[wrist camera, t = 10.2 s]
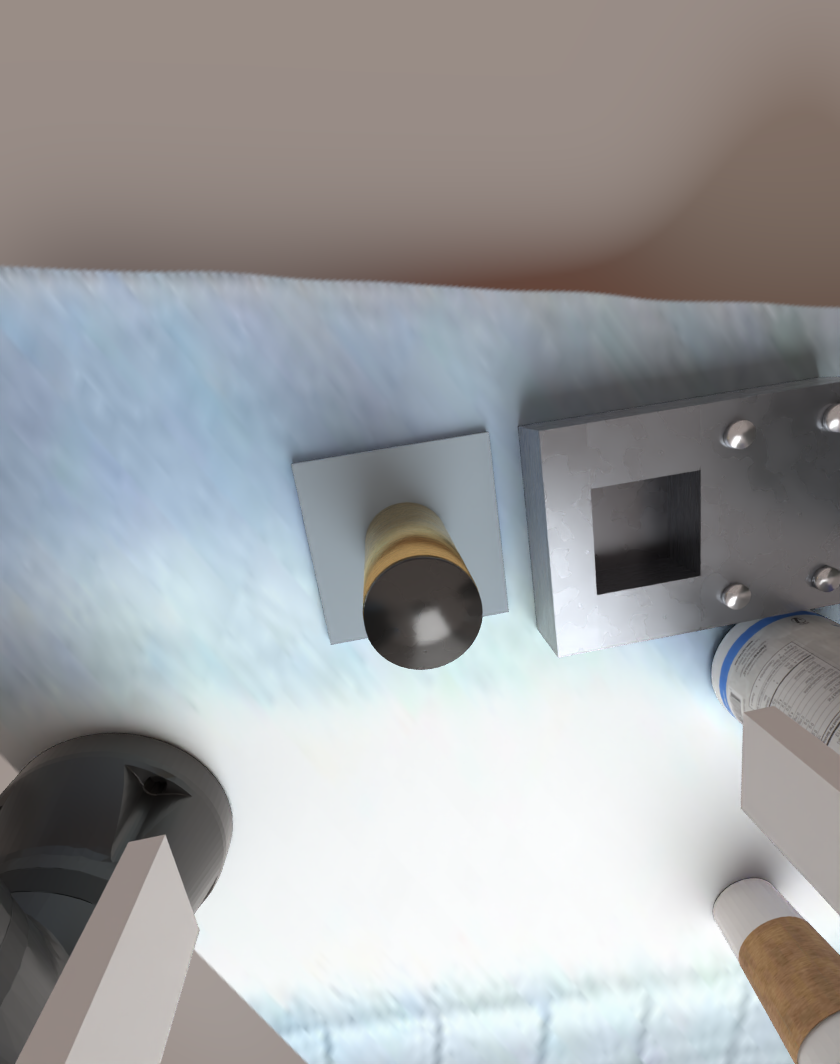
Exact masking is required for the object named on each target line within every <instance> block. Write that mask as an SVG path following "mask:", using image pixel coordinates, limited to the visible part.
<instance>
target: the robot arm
mask: <svg viewBox="0 0 840 1064" xmlns="http://www.w3.org/2000/svg"><path fill="white" fill-rule="evenodd" d="M741 809H742V810H743V811H744V812H745V813H746V815H747V816H748V817H749V818H750V819H751V820H752V821H753V822H754V823H755V824H756V825H757V826H758V828H759V829H760V830H761V831H762V832H763V833H764V834H765V835H766V836H767V837H768V838H769V839H770V841H771V842H772V843H773V844H774V845H775V846H776V847H777V848H778V849H779V850H780V851H781V852H782V854H783V855H784V856H785V857H786V858H787V859H788V860H789V861H790V862H791V863H792V864H793V866H794V867H795V868H796V869H797V870H798V871H799V872H800V873H801V874H802V875H803V876H804V877H805V879H806V880H807V881H808V882H809V883H810V884H811V885H812V886H813V887H814V888H815V889H816V890H817V892H818V893H819V894H820V895H821V896H822V897H823V898H824V899H825V900H826V901H827V902H828V904H829V905H830V906H831V907H832V908H833V909H834V910H835V911H836V912H837V913H838V914H839V915H840V755H839V754H838V753H837V752H835V751H834V750H833V749H831V748H830V747H829V746H827V745H826V744H825V743H823V742H822V741H821V740H819V739H818V738H817V737H815V736H814V735H813V734H811V733H810V732H809V731H807V730H806V729H805V728H803V727H802V726H801V725H799V724H798V723H797V722H795V721H794V720H793V719H791V718H790V717H789V716H787V715H786V714H785V713H783V712H782V711H781V710H779V709H778V708H777V707H775V706H771V707H766V708H761V709H757V710H752V711H747V712H743V744H742V782H741ZM232 829H233V822H232V813H231V808H230V805H229V802H228V799H227V797H226V795H225V792H224V791H223V789H222V787H221V785H220V784H219V782H218V781H217V780H216V778H215V777H214V776H213V775H212V774H211V772H210V771H209V770H208V769H207V768H206V767H204V766H203V765H202V764H201V763H200V762H199V761H197V760H196V759H195V758H193V757H192V756H190V755H189V754H187V753H186V752H184V751H182V750H180V749H178V748H176V747H174V746H172V745H170V744H167V743H165V742H162V741H159V740H156V739H152V738H149V737H144V736H139V735H132V734H121V733H106V734H95V735H88V736H83V737H79V738H75V739H72V740H68V741H66V742H63V743H60V744H58V745H56V746H54V747H52V748H50V749H48V750H46V751H45V752H43V753H42V754H40V755H39V756H37V757H36V758H35V759H33V760H32V761H31V762H30V763H29V764H28V765H27V766H26V767H25V768H24V769H23V770H22V771H21V772H20V773H19V774H18V775H17V777H16V778H15V779H14V780H13V781H12V782H11V783H10V784H9V786H8V787H7V788H6V789H5V790H4V791H3V793H2V794H1V795H0V1064H160V1062H161V1059H162V1055H163V1052H164V1049H165V1045H166V1042H167V1039H168V1035H169V1032H170V1029H171V1025H172V1022H173V1018H174V1015H175V1012H176V1008H177V1005H178V1002H179V998H180V995H181V991H182V988H183V984H184V981H185V978H186V975H187V971H188V968H189V964H190V961H191V958H192V954H193V951H194V947H195V944H196V941H197V937H198V934H199V931H200V930H199V927H198V924H197V922H196V919H195V916H194V914H195V912H196V911H197V909H198V908H199V907H200V905H201V904H202V903H203V902H204V901H205V899H206V898H207V897H208V895H209V894H210V893H211V891H212V890H213V888H214V886H215V885H216V883H217V881H218V879H219V876H220V874H221V872H222V869H223V866H224V862H225V859H226V856H227V852H228V849H229V846H230V842H231V837H232Z"/></svg>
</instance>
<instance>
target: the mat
mask: <svg viewBox="0 0 840 1064" xmlns="http://www.w3.org/2000/svg"><path fill="white" fill-rule="evenodd" d="M291 465H292V470H293V475H294V479H295V484H296V488H297V493H298V497H299V502H300V506H301V511H302V516H303V520H304V525H305V529H306V534H307V538H308V543H309V547H310V552H311V556H312V561H313V566H314V570H315V575H316V579H317V584H318V588H319V593H320V597H321V602H322V606H323V611H324V616H325V620H326V625H327V629H328V634H329V638H330V643H331V645H333V644H338V643H344V642H349V641H354V640H360V639H365V638H368V636H367V634H366V630H365V626H364V620H363V589H364V562H365V538H366V533H367V530H368V527H369V525H370V523H371V522H372V520H373V519H374V518H375V516H376V515H377V514H378V513H379V512H381V511H382V510H383V509H385V508H387V507H389V506H391V505H394V504H397V503H404V502H411V503H417V504H420V505H423V506H425V507H427V508H429V509H431V510H432V511H433V512H434V513H436V514H437V516H438V517H439V518H440V519H441V521H442V522H443V524H444V526H445V528H446V530H447V532H448V533H449V535H450V537H451V539H452V541H453V543H454V545H455V546H456V548H457V550H458V552H459V554H460V556H461V558H462V559H463V561H464V563H465V565H466V567H467V569H468V571H469V572H470V574H471V576H472V578H473V580H474V582H475V584H476V586H477V588H478V591H479V594H480V598H481V602H482V609H483V616H482V617H484V616H489V615H494V614H500V613H505V612H509V609H508V600H507V591H506V582H505V573H504V564H503V555H502V546H501V537H500V528H499V519H498V510H497V501H496V492H495V484H494V475H493V466H492V457H491V448H490V439H489V432H481V433H475V434H469V435H463V436H456V437H450V438H444V439H438V440H432V441H426V442H420V443H414V444H407V445H401V446H395V447H389V448H383V449H377V450H371V451H365V452H358V453H352V454H346V455H340V456H334V457H328V458H322V459H316V460H309V461H303V462H297V463H292V464H291Z"/></svg>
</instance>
